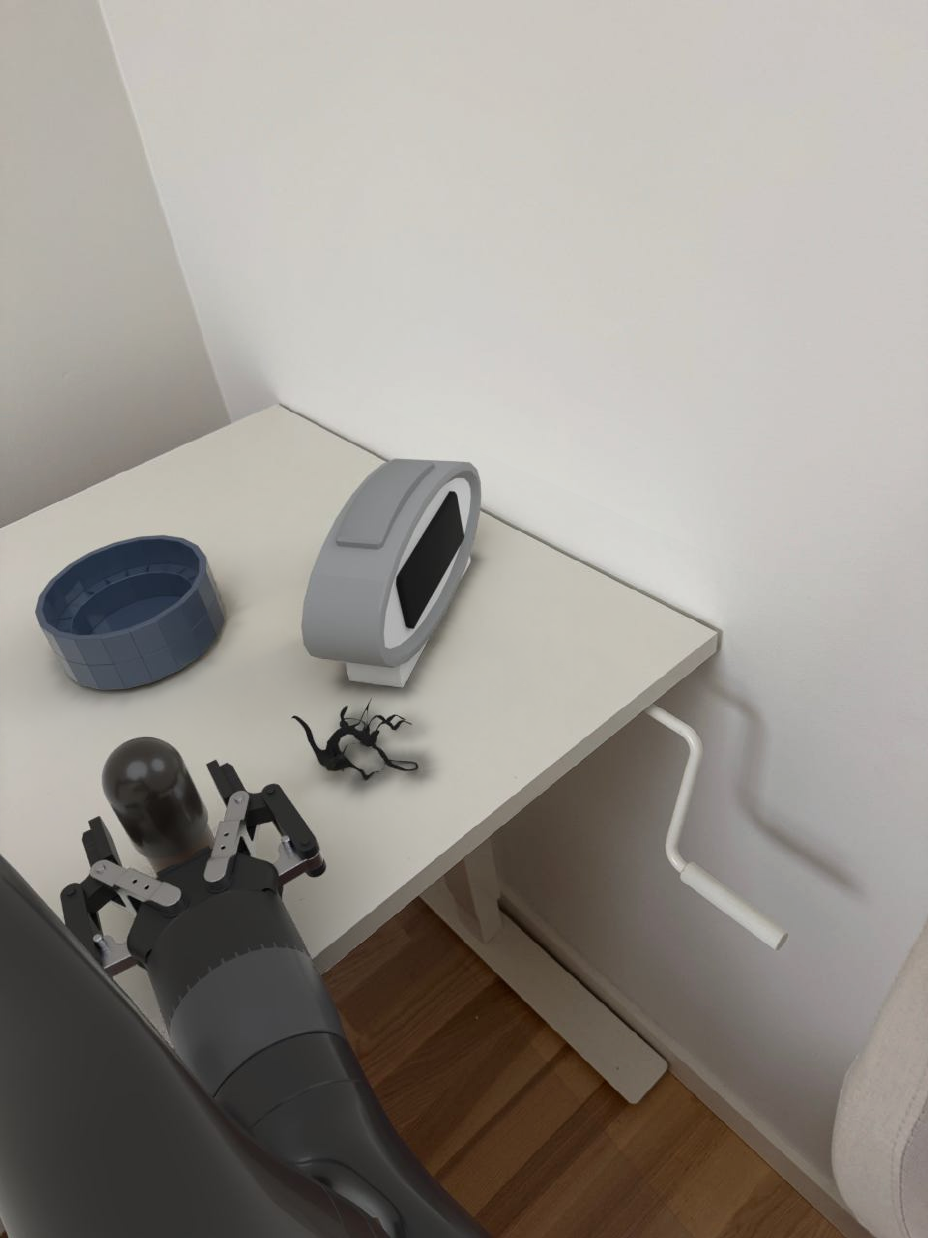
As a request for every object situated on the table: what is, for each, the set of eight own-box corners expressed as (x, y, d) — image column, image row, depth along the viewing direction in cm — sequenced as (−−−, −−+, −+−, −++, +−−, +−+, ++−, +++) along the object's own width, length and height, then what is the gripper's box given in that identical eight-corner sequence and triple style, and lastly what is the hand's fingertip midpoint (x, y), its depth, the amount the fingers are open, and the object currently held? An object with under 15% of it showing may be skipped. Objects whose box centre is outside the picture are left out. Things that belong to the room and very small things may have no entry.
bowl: (84, 720, 76) (53, 664, 72) (50, 631, 86) (22, 578, 83) (249, 645, 81) (228, 589, 77) (199, 569, 91) (178, 516, 87)
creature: (376, 716, 73) (287, 757, 69) (375, 657, 71) (282, 696, 66) (442, 766, 68) (351, 815, 64) (444, 705, 66) (348, 751, 61)
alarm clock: (397, 719, 71) (362, 582, 63) (324, 708, 73) (280, 575, 65) (491, 540, 88) (472, 415, 80) (428, 536, 90) (404, 413, 82)
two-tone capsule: (180, 935, 59) (99, 794, 51) (160, 884, 62) (80, 744, 54) (249, 898, 60) (181, 755, 52) (226, 850, 64) (158, 708, 56)
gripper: (363, 891, 47) (249, 703, 59) (73, 1053, 42) (13, 814, 54) (391, 973, 51) (280, 784, 63) (133, 1128, 47) (66, 893, 59)
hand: (158, 799), depth 59 cm, fingers open, 7 cm apart
